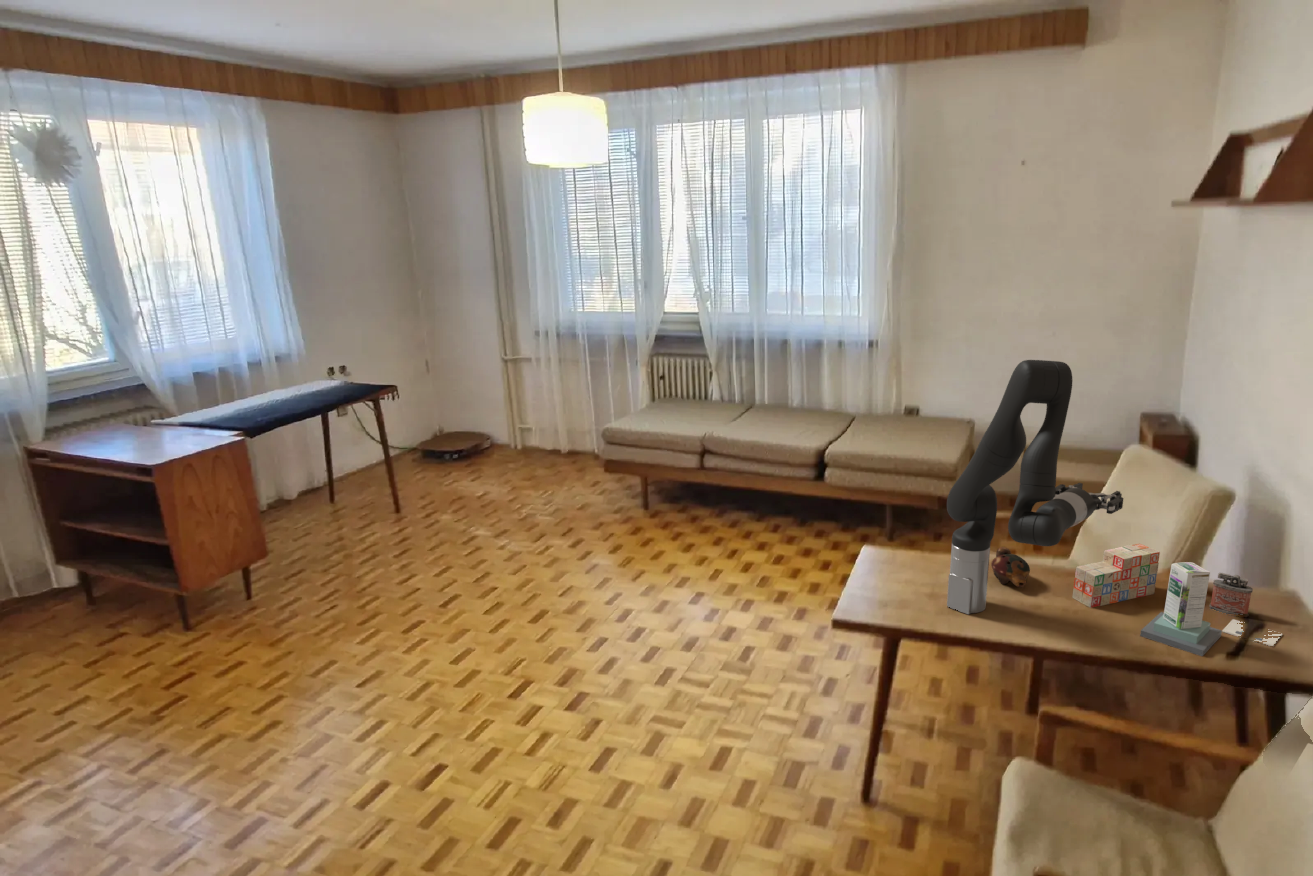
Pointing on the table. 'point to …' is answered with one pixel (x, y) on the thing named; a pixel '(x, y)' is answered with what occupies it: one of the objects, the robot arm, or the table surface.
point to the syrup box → (1186, 595)
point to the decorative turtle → (1010, 567)
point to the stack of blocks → (1117, 576)
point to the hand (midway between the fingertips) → (1099, 490)
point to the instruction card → (1237, 631)
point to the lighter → (1231, 595)
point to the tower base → (1181, 643)
